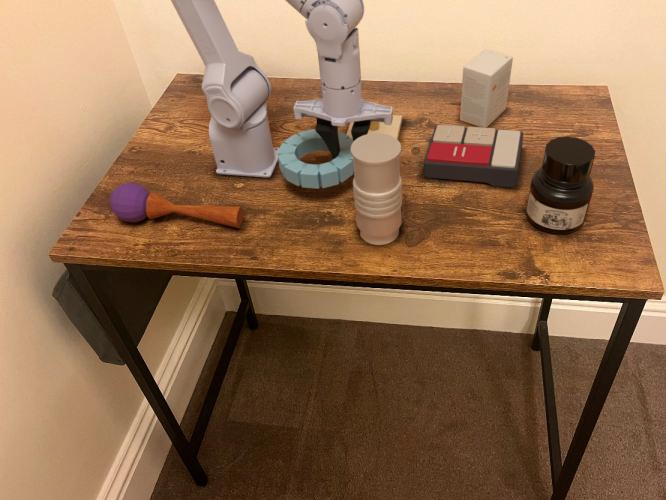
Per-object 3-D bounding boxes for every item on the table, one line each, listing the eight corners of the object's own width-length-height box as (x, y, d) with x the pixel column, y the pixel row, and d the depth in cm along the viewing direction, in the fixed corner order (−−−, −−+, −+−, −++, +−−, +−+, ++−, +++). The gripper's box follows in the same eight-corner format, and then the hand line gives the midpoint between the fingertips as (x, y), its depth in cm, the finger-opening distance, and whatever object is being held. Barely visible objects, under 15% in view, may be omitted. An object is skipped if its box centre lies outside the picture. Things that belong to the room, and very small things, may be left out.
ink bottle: (516, 227, 93) (528, 161, 84) (529, 192, 99) (541, 126, 90) (582, 242, 91) (601, 176, 82) (591, 205, 96) (610, 139, 87)
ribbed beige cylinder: (406, 219, 95) (406, 135, 84) (396, 250, 90) (395, 165, 79) (363, 213, 96) (357, 130, 85) (351, 243, 92) (344, 159, 81)
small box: (480, 101, 117) (485, 47, 110) (506, 109, 115) (514, 55, 107) (458, 120, 113) (462, 66, 105) (485, 130, 111) (491, 75, 103)
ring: (271, 185, 96) (269, 171, 94) (291, 139, 104) (289, 126, 102) (349, 191, 94) (348, 177, 92) (363, 144, 102) (362, 131, 100)
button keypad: (435, 121, 106) (524, 127, 103) (435, 142, 109) (521, 149, 106) (422, 159, 99) (518, 166, 96) (423, 180, 102) (515, 188, 99)
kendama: (231, 221, 90) (98, 202, 91) (238, 244, 95) (112, 227, 96) (242, 189, 93) (113, 172, 94) (248, 214, 98) (126, 197, 99)
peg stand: (344, 146, 108) (342, 116, 104) (353, 118, 114) (351, 88, 110) (395, 149, 107) (395, 119, 103) (402, 121, 113) (402, 91, 109)
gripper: (283, 91, 85) (296, 171, 96) (387, 97, 84) (389, 178, 94) (295, 65, 90) (306, 144, 100) (394, 71, 89) (395, 150, 99)
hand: (347, 159), depth 97 cm, fingers closed on ring, 3 cm apart
